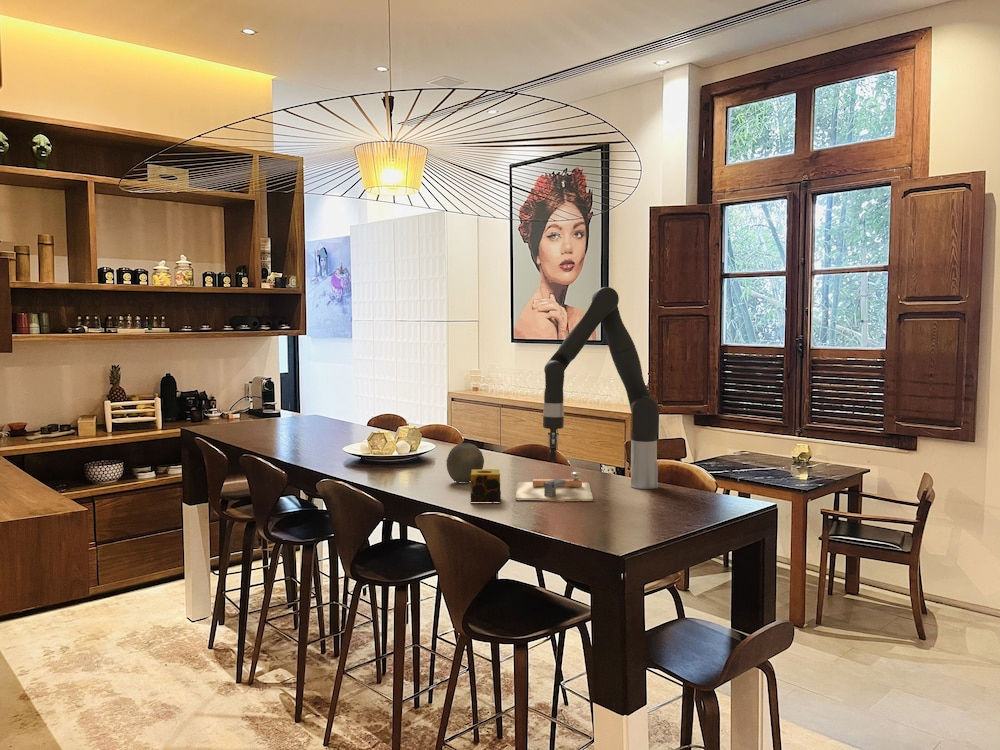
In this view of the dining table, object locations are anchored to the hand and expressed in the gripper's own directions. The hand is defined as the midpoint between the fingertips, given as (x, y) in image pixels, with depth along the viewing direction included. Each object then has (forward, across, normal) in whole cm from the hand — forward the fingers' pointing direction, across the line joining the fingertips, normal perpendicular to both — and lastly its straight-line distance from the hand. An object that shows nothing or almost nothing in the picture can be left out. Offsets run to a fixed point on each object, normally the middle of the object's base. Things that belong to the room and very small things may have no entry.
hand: (552, 462), depth 280 cm
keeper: (+8, -19, -1) cm, 20 cm away
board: (+9, -11, 0) cm, 14 cm away
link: (+8, -5, -2) cm, 9 cm away
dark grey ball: (+10, +5, +33) cm, 34 cm away
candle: (+10, -25, +23) cm, 35 cm away
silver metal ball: (+6, -5, -8) cm, 11 cm away
